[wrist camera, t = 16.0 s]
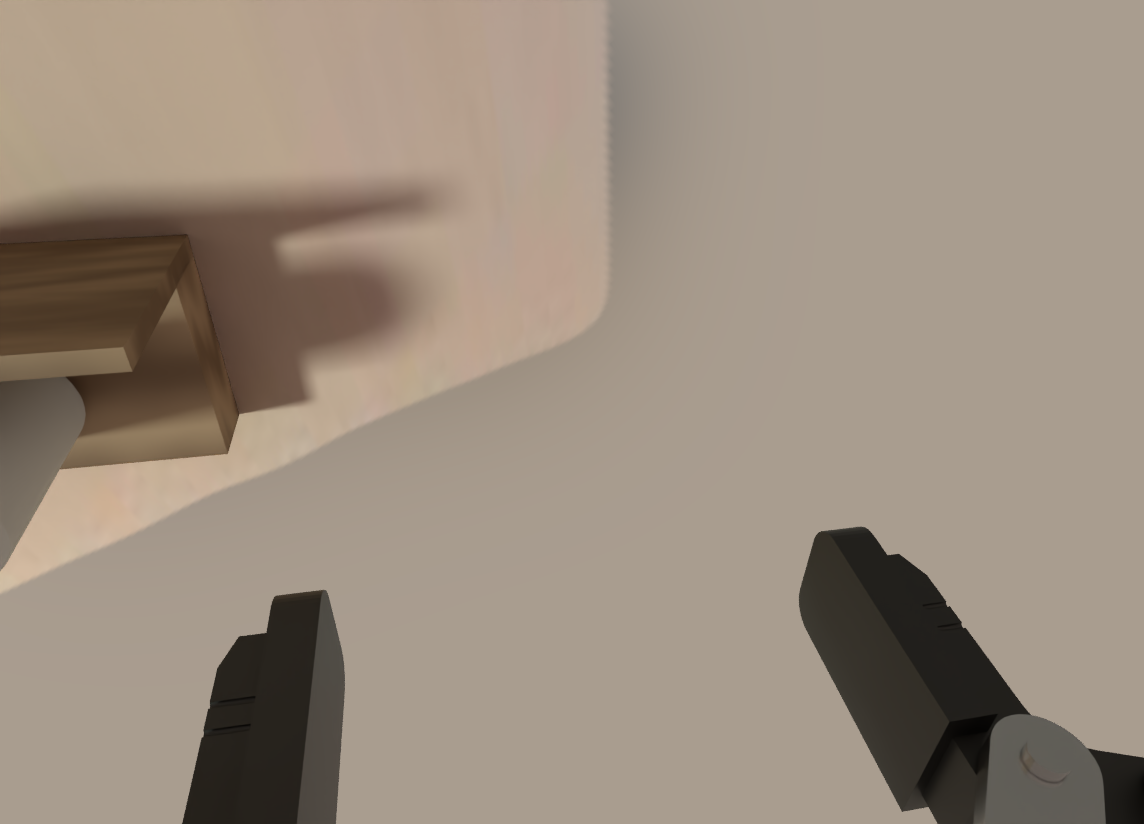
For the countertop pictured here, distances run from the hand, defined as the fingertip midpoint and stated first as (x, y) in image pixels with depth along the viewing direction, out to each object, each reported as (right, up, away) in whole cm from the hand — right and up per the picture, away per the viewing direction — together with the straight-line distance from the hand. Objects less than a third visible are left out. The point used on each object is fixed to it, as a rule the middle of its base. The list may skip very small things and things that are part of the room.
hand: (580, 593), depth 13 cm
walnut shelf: (-30, +7, +31) cm, 44 cm away
